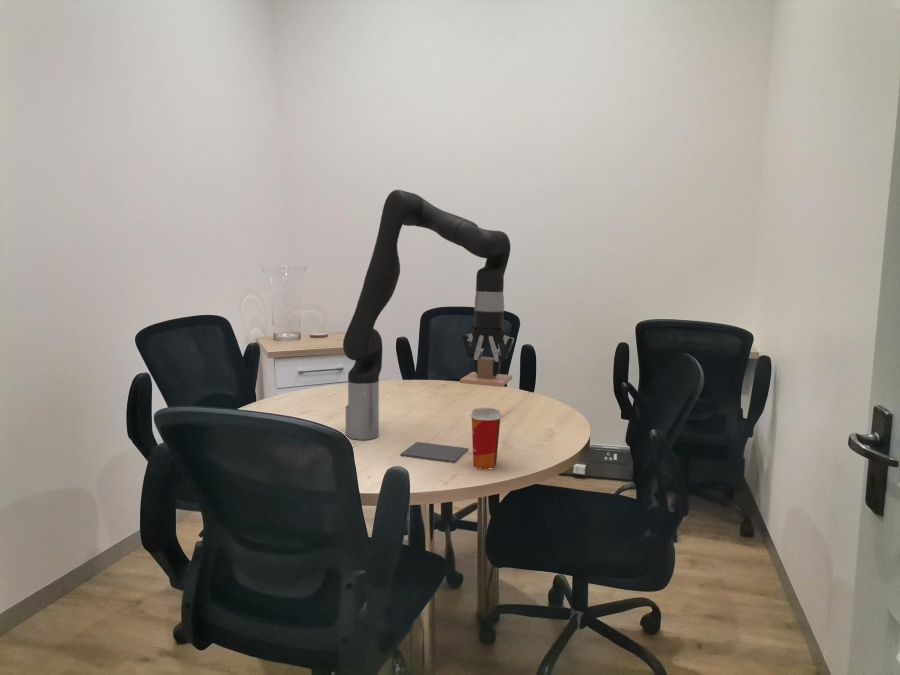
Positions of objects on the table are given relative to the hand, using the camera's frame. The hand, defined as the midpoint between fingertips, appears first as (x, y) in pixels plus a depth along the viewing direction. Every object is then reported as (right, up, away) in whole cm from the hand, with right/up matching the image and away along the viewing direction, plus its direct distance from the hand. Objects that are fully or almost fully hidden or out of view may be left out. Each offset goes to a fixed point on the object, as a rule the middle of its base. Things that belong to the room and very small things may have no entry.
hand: (487, 374), depth 160 cm
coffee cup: (0, -25, +3) cm, 25 cm away
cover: (0, -2, 0) cm, 2 cm away
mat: (-14, -23, +13) cm, 30 cm away
